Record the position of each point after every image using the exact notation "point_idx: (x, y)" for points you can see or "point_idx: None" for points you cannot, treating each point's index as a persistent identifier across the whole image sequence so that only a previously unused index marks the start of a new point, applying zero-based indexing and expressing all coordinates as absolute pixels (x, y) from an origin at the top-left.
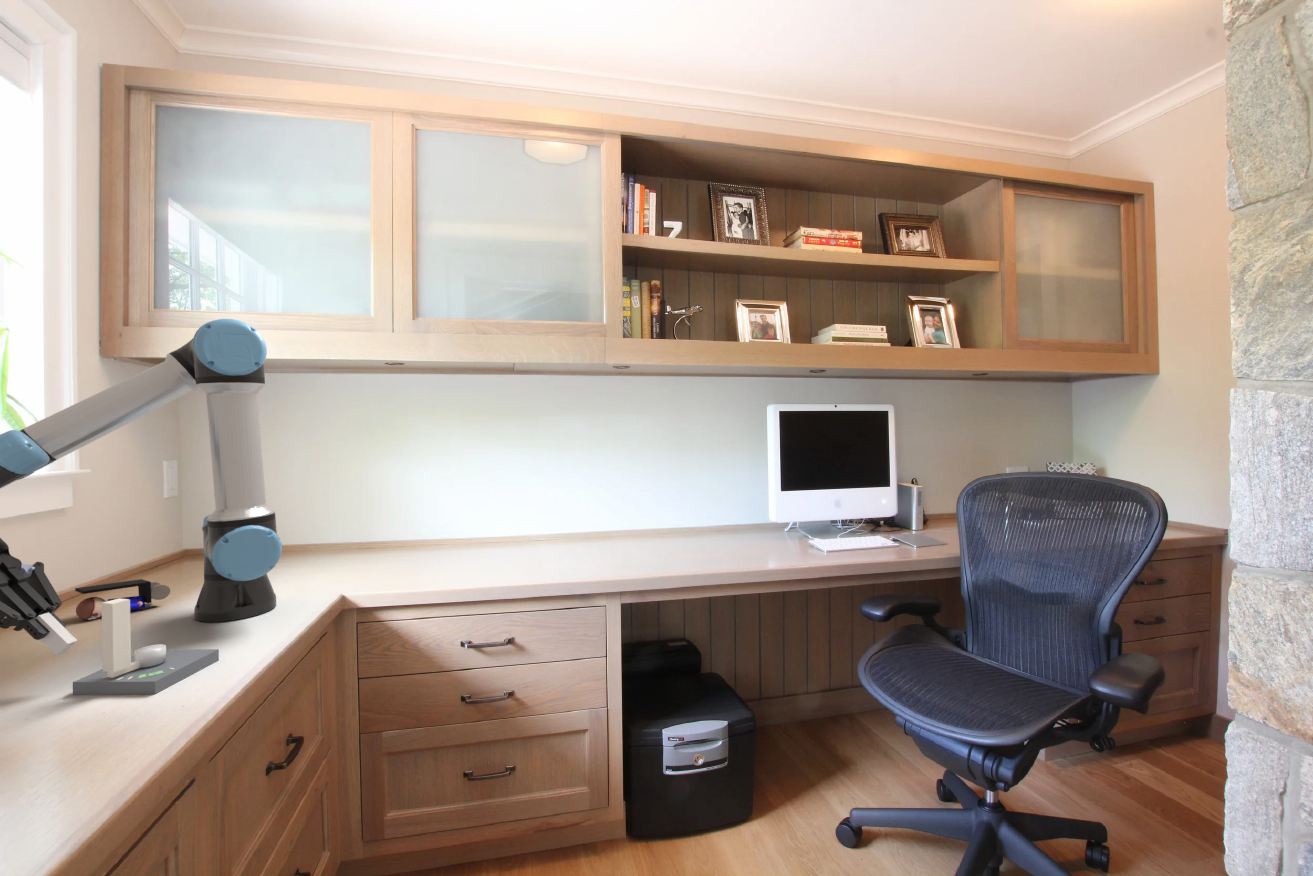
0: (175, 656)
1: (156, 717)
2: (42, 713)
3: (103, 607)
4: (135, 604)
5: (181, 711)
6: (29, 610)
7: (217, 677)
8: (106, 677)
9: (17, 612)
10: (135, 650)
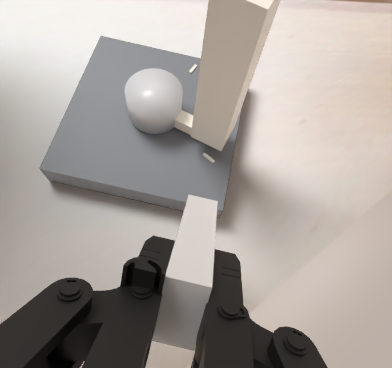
0: (119, 89)
1: (323, 51)
2: (295, 217)
3: (266, 19)
4: None
5: (308, 32)
6: (219, 331)
7: (192, 31)
8: (211, 157)
9: (280, 349)
10: (157, 114)
